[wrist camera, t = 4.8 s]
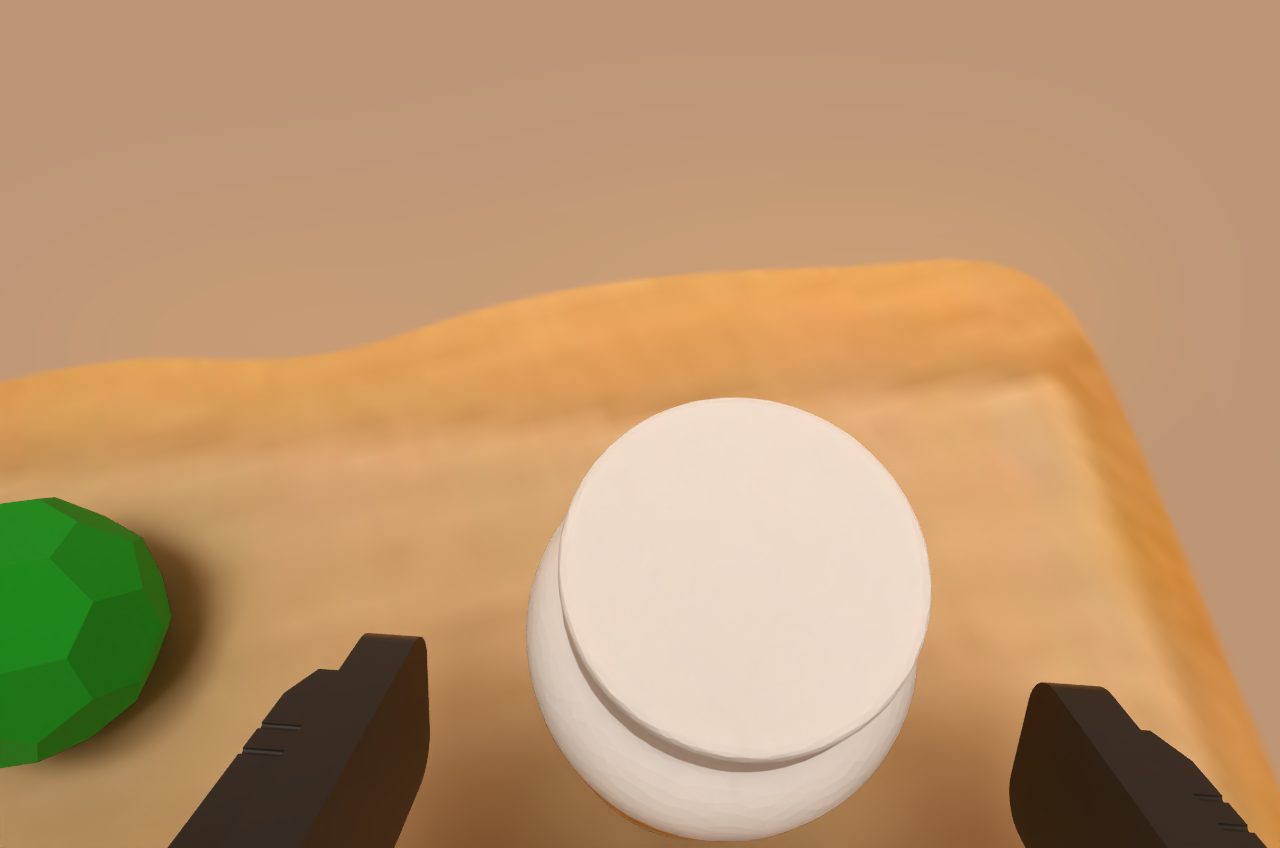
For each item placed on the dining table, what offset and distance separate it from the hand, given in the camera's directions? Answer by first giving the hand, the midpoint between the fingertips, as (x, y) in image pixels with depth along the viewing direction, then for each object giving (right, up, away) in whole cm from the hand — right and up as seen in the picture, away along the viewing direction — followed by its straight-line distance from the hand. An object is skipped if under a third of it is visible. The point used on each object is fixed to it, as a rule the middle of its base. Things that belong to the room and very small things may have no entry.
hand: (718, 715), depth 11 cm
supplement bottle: (0, -2, +7) cm, 7 cm away
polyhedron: (-13, -1, +7) cm, 15 cm away
